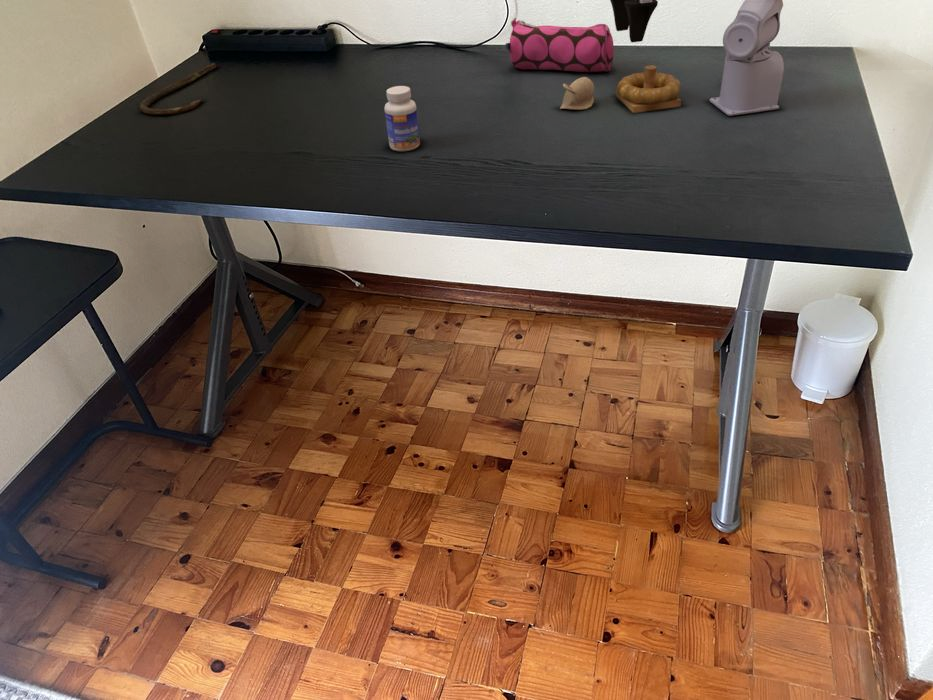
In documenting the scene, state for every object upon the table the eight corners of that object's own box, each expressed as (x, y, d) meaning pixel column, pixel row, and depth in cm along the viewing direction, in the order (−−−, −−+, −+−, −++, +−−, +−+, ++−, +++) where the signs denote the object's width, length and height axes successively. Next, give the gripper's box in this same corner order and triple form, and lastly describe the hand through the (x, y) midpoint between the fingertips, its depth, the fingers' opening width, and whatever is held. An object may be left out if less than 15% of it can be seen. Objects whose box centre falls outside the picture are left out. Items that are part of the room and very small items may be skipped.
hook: (135, 119, 146) (132, 112, 145) (163, 73, 169) (160, 66, 168) (198, 113, 147) (196, 105, 146) (217, 67, 170) (215, 61, 169)
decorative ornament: (600, 103, 136) (602, 74, 133) (568, 116, 132) (569, 86, 129) (584, 98, 138) (585, 69, 135) (553, 111, 135) (553, 81, 131)
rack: (661, 90, 139) (664, 56, 135) (680, 106, 132) (684, 71, 128) (616, 96, 138) (618, 62, 134) (633, 113, 131) (635, 78, 127)
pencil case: (505, 76, 151) (503, 25, 145) (516, 61, 158) (515, 11, 152) (608, 79, 146) (611, 26, 139) (615, 63, 153) (618, 12, 146)
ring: (664, 81, 139) (665, 67, 138) (689, 100, 131) (691, 86, 129) (608, 89, 138) (609, 75, 136) (630, 109, 129) (631, 94, 128)
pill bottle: (396, 155, 124) (389, 98, 118) (384, 144, 128) (376, 88, 122) (425, 147, 126) (419, 90, 120) (413, 137, 130) (406, 81, 123)
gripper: (599, -51, 133) (596, 27, 141) (627, -35, 122) (621, 49, 130) (636, -55, 134) (631, 23, 142) (667, -40, 122) (659, 44, 131)
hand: (629, 35), depth 136 cm, fingers open, 7 cm apart
